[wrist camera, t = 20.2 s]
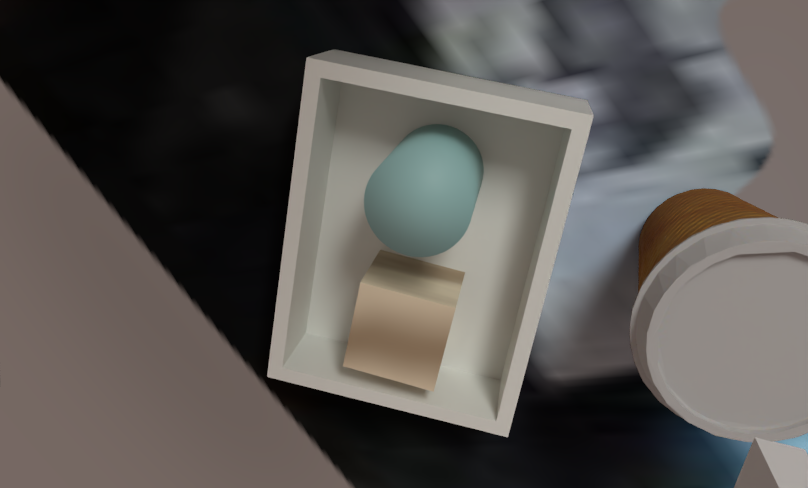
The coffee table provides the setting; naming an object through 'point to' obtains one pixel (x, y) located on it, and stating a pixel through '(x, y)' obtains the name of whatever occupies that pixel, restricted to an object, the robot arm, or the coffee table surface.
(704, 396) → the disposable coffee cup
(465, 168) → the teal capsule
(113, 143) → the coffee table surface
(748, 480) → the robot arm
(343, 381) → the tote
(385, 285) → the beech cube
